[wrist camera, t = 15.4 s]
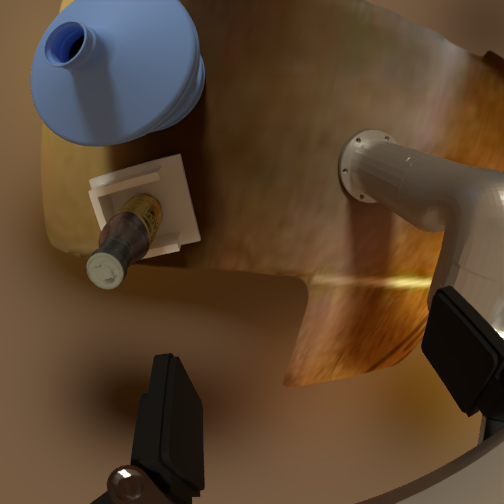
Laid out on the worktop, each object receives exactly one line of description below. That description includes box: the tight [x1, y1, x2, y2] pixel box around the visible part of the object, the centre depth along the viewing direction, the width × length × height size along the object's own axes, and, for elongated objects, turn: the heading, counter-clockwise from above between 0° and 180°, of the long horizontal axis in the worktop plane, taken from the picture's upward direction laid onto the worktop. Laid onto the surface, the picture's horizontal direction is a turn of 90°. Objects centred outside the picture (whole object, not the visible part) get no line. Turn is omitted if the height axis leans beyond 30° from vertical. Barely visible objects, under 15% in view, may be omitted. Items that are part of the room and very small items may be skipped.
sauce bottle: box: [87, 194, 163, 289], centre depth 35 cm, size 6×6×20 cm
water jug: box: [31, 0, 205, 146], centre depth 24 cm, size 16×16×28 cm
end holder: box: [89, 153, 201, 259], centre depth 42 cm, size 15×14×6 cm
